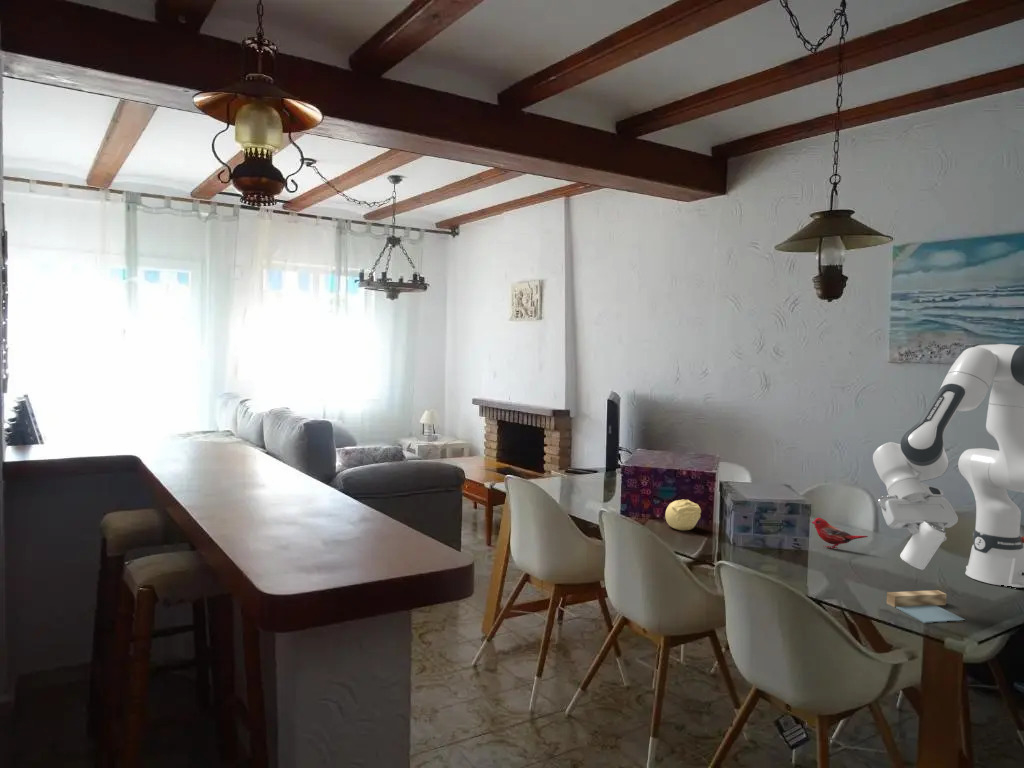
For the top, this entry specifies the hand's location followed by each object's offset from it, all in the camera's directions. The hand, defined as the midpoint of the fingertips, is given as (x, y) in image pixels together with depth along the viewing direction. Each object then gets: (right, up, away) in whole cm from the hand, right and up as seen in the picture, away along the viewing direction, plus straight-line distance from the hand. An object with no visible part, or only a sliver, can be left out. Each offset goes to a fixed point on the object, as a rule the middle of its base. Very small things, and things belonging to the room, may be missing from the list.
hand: (933, 540), depth 190 cm
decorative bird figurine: (-1, -15, +53) cm, 55 cm away
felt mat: (-3, -19, -3) cm, 19 cm away
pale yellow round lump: (-49, -12, +74) cm, 90 cm away
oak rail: (-2, -18, +4) cm, 19 cm away
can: (-4, -7, +3) cm, 9 cm away
